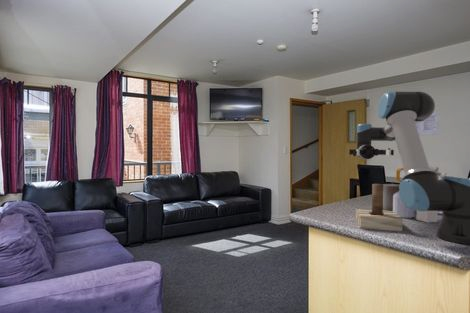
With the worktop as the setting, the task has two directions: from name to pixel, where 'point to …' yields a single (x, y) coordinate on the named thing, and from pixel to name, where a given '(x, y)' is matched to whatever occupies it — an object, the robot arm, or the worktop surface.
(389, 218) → the socket block
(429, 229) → the worktop surface
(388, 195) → the pillar candle
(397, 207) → the soap bottle
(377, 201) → the peg
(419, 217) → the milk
